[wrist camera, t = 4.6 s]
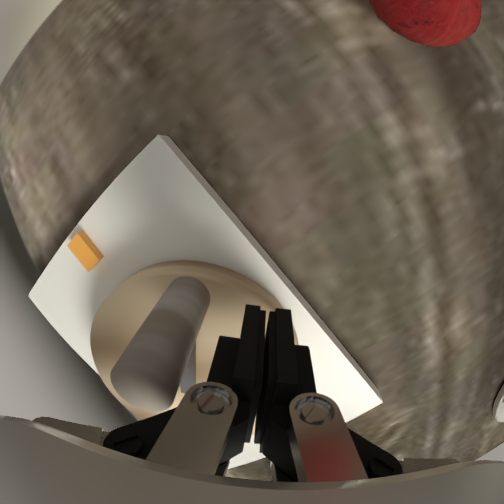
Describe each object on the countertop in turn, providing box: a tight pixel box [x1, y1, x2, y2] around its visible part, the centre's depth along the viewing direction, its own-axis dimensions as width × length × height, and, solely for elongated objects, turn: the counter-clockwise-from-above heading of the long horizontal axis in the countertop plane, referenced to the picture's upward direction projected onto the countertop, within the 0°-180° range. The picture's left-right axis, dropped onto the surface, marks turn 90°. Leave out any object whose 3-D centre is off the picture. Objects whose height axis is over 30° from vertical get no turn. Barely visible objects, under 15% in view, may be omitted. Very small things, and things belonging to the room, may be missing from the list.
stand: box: [29, 134, 383, 469], centre depth 18 cm, size 22×15×2 cm
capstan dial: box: [90, 260, 299, 435], centre depth 13 cm, size 12×12×8 cm
